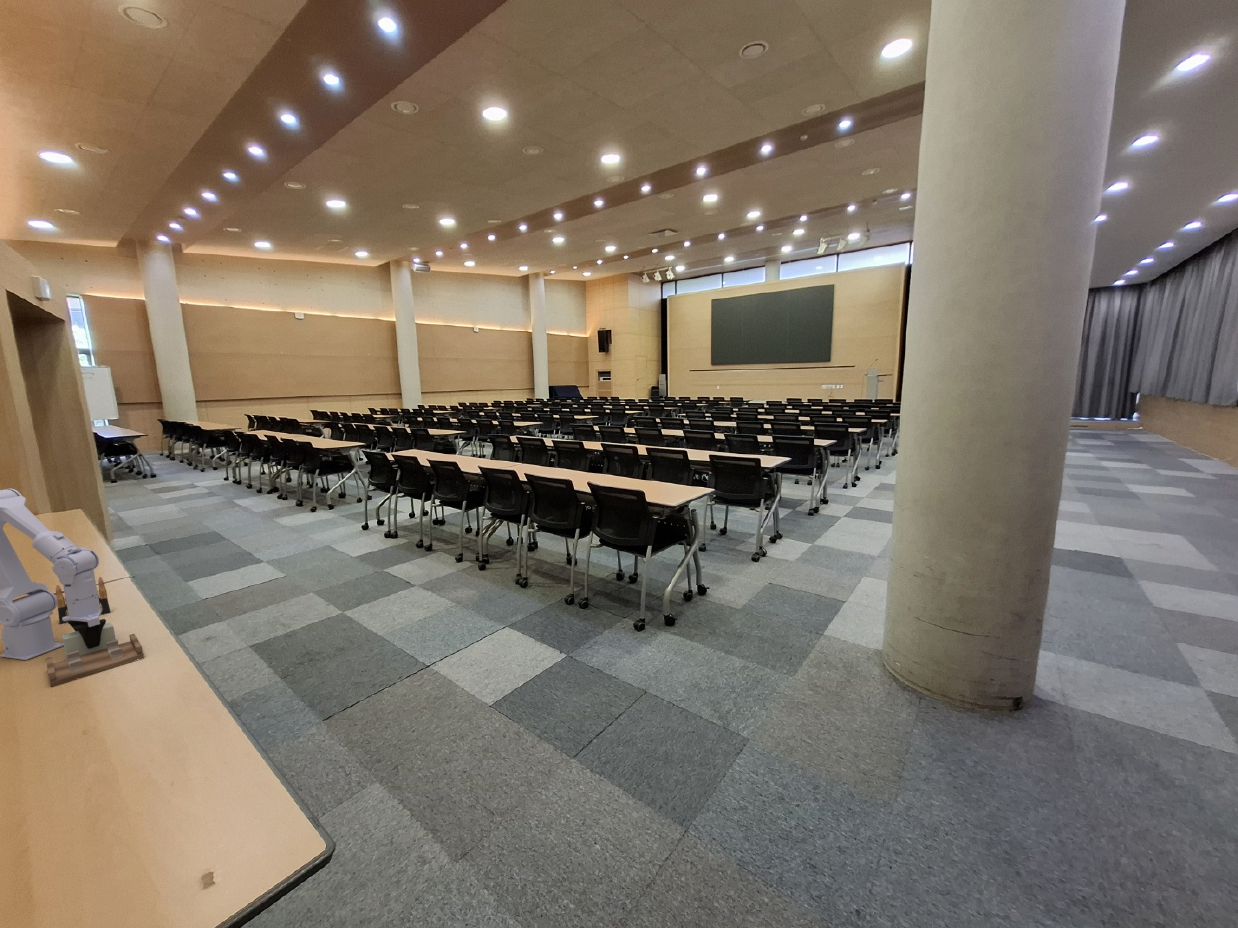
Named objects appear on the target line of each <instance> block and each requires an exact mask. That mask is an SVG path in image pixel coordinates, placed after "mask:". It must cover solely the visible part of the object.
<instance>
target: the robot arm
mask: <svg viewBox="0 0 1238 928" xmlns="http://www.w3.org/2000/svg"><path fill="white" fill-rule="evenodd" d="M27 506H28V501H27V498H26V497H25V496H23V495H22V494H21V493H20V492H19V491H18V490H17V489H14V488H4V489H0V625H2V626H3V627H2V629H1V632H0V635H1V640H2V644H3V650H4V653H1V654H0V657H1V658H9V659H15V660H21V661H22V660H23V661H28V660H31V659H32V658H35V657H37V656H38V657H39V656H40V655H43V654H46V653H48V652H51V651H54V650H56V649H59V648H60V647H64V643H63V642H56V639H55V636H54V631H53V625H52V619H51V615H54V610H55V609H56V608H57V597H56V594H54V592H52V591H51V590H49V588H48V587H47V585H46V584H45V583H41V582H36V581H32V580H31V578H30V576H29V574H28V573H27V570H26V569H25V567H24V565H23V563H22V561H21V560H20V558H19V556H18V554H17V552H16V550H15V548H14V547H13V545H12V544H11V542H10V540H9V538H8V536H7V533H6V532H5V531H4V529H3V527H4V526H5V524H6V523H8V524H9V525H10V526H12V527H14V528H15V529H16V530H19V531H20V532H21V533H22V534H23V535H25V536H27V537H29V538H30V539H32V544H31V546H32V548H33V549H35V550H36V551H37V552H38V553H39V554H40V555H42V556H43V557H44V558H46V559H47V561H49V562H51V563H52V564H53V566H52V567H51V569H52V571H53V573H54V575H55V576H57V578H58V583H60V584H61V585H62V586H63V592H64V599H65V598H66V602H65V604H66V603H67V609H68V613H67V615H68V614H69V615H68V616H65V617H63V618H62V620H63V621H67V623H66V624H68V625H70V627H72V629H73V630H74V632H75V631H78V632H79V633H80V634H81V636H82V638H83V640H84V643H85V645H86V647H87V648H88V649H91V648H94V647H97V646H99V645H100V639H101V633H102V629H103V627H104V625H105V624H106V623H107V620H106V619H105V618H102V619H100V617H101V615H100V614H101V612H102V609H101V608H100V606H101V603H100V604H99V598H100V597H99V598H98V595H99V591H98V592H97V590H98V586H97V581H96V576H95V570H94V569H97V567H98V566H99V564H100V559H99V556H98V555H97V553H96V552H95V551H94V550H92V549H90V548H84V547H83V546H80V547H79V546H77V544H75V543H74V542H73V541H71V540H70V539H69V538H68V537H66V535H64V534H63V533H62V532H61V531H56V530H55V531H53V530H50V529H49V528H47V526H46V525H45V524H44V523H43V522H42V521H41V520H40V519H39V518H37V516H36V515H35V514H33V512H32V511H31V510H29V508H28V507H27ZM23 595H25V596H23ZM21 596H22V597H21ZM18 597H19V598H18ZM15 598H16V599H15Z"/></svg>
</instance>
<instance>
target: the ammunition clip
mask: <svg viewBox="0 0 1238 928" xmlns="http://www.w3.org/2000/svg"><path fill="white" fill-rule="evenodd" d="M97 581H98V589H97V592H98V598H99V604H100V608H101V609H102V612H101V614H100V616H103V615H107V614H111V613H112V612H111V606H110V603H109V599H108V593H107V589H106V586H105V581H104V579H103V577H101V576H99V577H98V580H97ZM55 596H56V597H57V607H56V608H57V611H58V622H59V625H64V624H68V623H67V621H63V620H62V618H63V617H65V616H68V615H69V614H68V609H67V603H66V598H65V596H64V595H63V591H62V588H61V586H60V585H59V584H57V585H56V587H55Z"/></svg>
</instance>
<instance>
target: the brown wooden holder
mask: <svg viewBox="0 0 1238 928" xmlns="http://www.w3.org/2000/svg"><path fill="white" fill-rule="evenodd" d="M67 658H68V659H67ZM142 658H143V659H145V656H144V652H143V646H142V644H141V642H140V640H139V638H138V637H137V636H136V634H135V633H131V634H129V641H127V642H124V643H120V644H119V641H118V639H116V640H114V641H110V642H107V648H105V649H102V650H98V651H95V652H91V653H88V654H84V655H81V656H80V655H79V651H75V652H71V653H68V654H67V657H66V659H64V660H61V661H58V662H54V663H53V657H52V656H50V657H46V658H45V663H46V668H47V674H48V679H49V683H50V688H54V687H56V686H59V685H64V684H66V683H69V682H72V680H73V681H76V680H78V679H77V678H79V679H81V678H85V676H86V677H89V676H92V675H95V674H98V673H101V672H105V671H107V670H111V669H114V668H117V667H120V665H121V666H124V665H126V664H130V663H133V662H132V661H134V660H137V659H140V660H143V659H142ZM137 661H138V660H137ZM134 662H135V661H134ZM88 675H89V676H88ZM75 679H76V680H75Z"/></svg>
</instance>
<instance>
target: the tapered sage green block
mask: <svg viewBox="0 0 1238 928" xmlns="http://www.w3.org/2000/svg"><path fill="white" fill-rule="evenodd" d="M61 637H62V643H64V646H63V647H64V651H65V658H66V660H67V659H68V658H67V654H68V653H71V652H75V651H79V655H80V656H81V655H84V654H88V653H91V652H95V651H98V650H102V649H105V648H107V642H110V641H114V640H117V639H116V634H115V627H114V625H113V622H111V621H110V622H106V623H105V625H104V627H103V629H102V633H101V639H100V645H99V646H97V647H94V648H91V649H88V648H87V647H86V645H85V643H84V640H83V638H82V636H81V634H80V633H79V632H78V631H75V630H74V631H72V632H68V633H65V634H62V635H61Z"/></svg>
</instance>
